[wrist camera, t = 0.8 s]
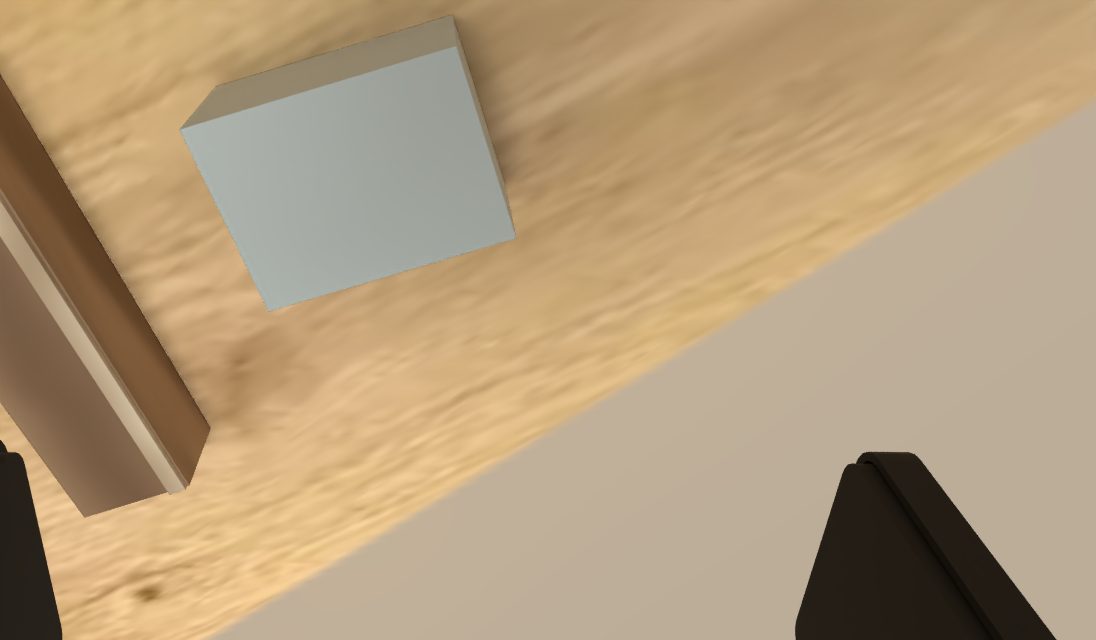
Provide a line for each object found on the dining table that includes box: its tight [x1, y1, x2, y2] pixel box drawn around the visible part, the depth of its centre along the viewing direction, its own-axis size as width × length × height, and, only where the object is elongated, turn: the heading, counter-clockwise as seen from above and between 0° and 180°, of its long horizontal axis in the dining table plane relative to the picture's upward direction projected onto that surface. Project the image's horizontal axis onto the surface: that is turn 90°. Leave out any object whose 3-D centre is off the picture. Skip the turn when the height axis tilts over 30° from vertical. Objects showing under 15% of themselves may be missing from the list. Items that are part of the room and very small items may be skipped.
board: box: [0, 76, 210, 518], centre depth 29 cm, size 4×18×4 cm, turn 16°
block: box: [179, 15, 516, 312], centre depth 28 cm, size 8×6×5 cm
